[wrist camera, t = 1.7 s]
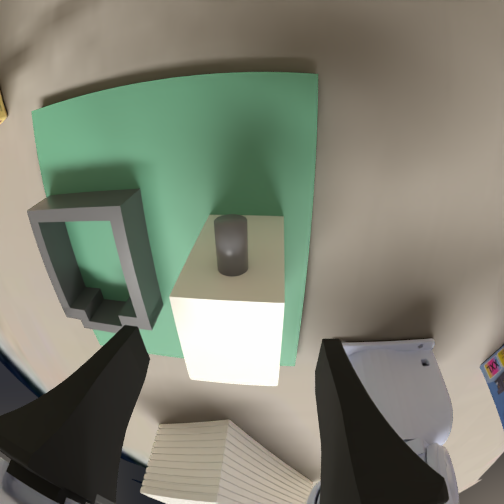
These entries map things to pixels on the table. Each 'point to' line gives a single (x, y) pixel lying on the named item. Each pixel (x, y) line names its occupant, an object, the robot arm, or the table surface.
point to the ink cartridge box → (496, 379)
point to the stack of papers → (218, 468)
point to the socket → (128, 247)
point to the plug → (233, 300)
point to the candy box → (2, 110)
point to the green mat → (187, 174)
